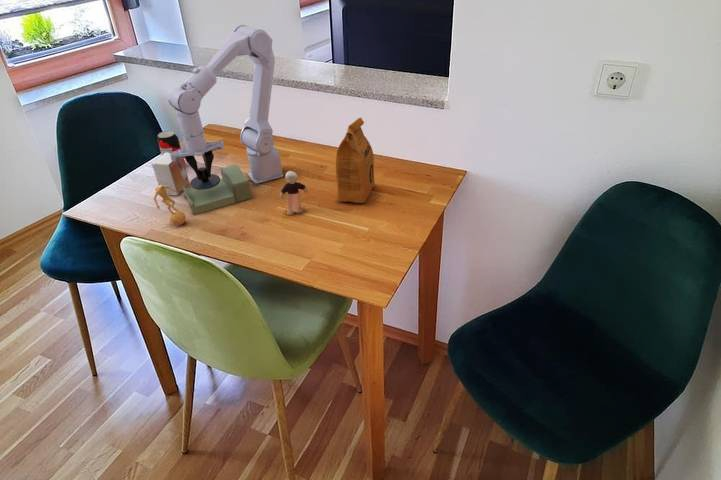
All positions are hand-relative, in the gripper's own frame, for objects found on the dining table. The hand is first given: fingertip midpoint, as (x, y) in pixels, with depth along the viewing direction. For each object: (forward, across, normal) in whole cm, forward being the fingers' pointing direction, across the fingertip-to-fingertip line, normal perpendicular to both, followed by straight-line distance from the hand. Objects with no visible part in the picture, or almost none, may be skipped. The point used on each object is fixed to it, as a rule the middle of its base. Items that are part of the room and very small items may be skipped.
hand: (204, 177), depth 138 cm
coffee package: (+8, +38, -21) cm, 45 cm away
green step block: (+8, +2, 0) cm, 8 cm away
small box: (+8, -8, +12) cm, 16 cm away
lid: (+2, 0, 0) cm, 2 cm away
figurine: (+8, -11, -8) cm, 16 cm away
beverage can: (+8, -4, +27) cm, 28 cm away
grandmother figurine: (+8, +20, -20) cm, 29 cm away
